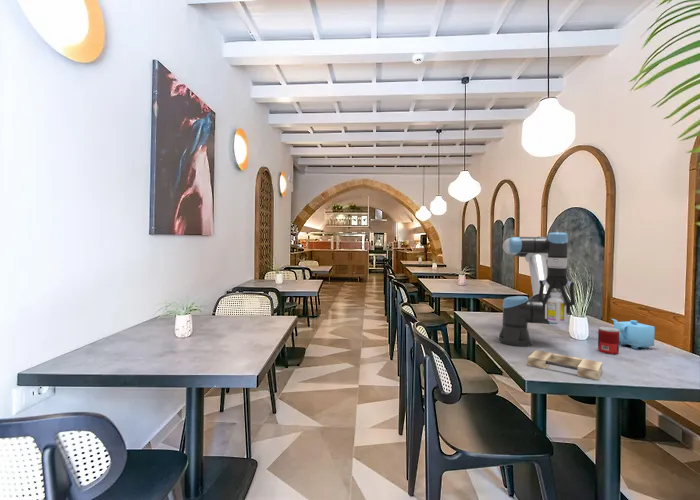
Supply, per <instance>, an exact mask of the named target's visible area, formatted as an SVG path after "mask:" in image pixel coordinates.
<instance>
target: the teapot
mask: <svg viewBox="0 0 700 500" xmlns="http://www.w3.org/2000/svg"><path fill="white" fill-rule="evenodd" d="M611 320H612V321H613V328H615V329H618V330H619V346H624V347H625V346H626V345H629V346H631V347H630V348H631V349H633V350H638V349H639V348H642V349H649V348H648V347H654V346H655V331H656V327H655V326H653V325H650V324H649V325H648V324H645V323H641V322H638V320H636V319H635V320H633V319H631V320H629V321H618V320H617V319H615V318H611Z"/></svg>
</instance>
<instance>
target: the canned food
mask: <svg viewBox="0 0 700 500" xmlns="http://www.w3.org/2000/svg"><path fill="white" fill-rule="evenodd" d="M597 334H598V336H597V350H598V352H599V353H602V354H607V355H618V354H619V352H620V351H619V350H620V345H619V344H620V342H619V330H618V329H615V328H614V327H610V326H609V327H607V326H599V327H598V331H597Z"/></svg>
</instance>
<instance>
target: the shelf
mask: <svg viewBox="0 0 700 500" xmlns="http://www.w3.org/2000/svg"><path fill="white" fill-rule="evenodd" d="M527 366H528V367H534V368H538V369H539V368H540V369H544V370H546V369H547V368H548V367H549V366H555V367H559V368H565V369H570V370H575V371H577V372H576V373H577V377H582V378H585V379H592V380H594V381H595V380H596V381H598V380H599V379H600V377H601V375H602V373H603V361H596V360H592V359H587V358H581V357H575V356H569V355H564V354H560V353H553V352H548V351H543V350H542V351H541V350H537V349H536V350H534V351H533V352H532V353H531V354H530V355H528V356H527Z"/></svg>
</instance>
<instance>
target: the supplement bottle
mask: <svg viewBox="0 0 700 500" xmlns="http://www.w3.org/2000/svg"><path fill="white" fill-rule="evenodd" d="M550 296H551V298H549V299H548V313H547V320H548V321H549V322H554V323H558V324H564V323H565V321H564V306H565V305H566V303H565V300H564V298H563V295H562V292H558V291H557V292H556V291H551V292H550Z"/></svg>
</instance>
